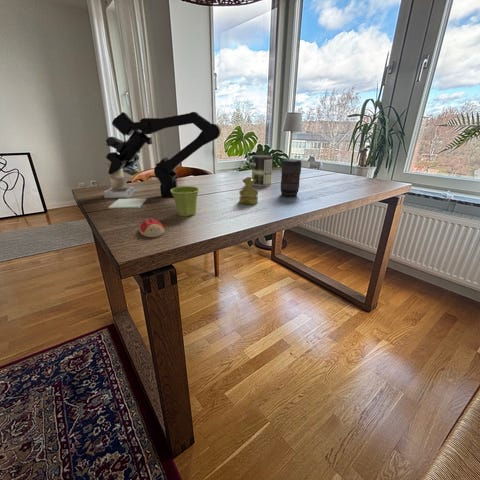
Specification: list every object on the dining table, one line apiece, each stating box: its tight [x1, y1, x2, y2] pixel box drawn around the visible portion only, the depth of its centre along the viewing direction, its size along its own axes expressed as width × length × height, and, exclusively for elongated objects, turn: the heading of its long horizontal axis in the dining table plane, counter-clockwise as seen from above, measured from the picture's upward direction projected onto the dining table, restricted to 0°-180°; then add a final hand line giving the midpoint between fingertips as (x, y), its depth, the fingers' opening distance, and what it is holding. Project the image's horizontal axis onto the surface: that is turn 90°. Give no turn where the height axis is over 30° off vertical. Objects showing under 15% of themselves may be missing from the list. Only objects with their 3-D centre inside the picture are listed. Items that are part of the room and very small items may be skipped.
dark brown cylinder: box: [280, 159, 303, 198], centre depth 111 cm, size 8×8×15 cm
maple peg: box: [106, 161, 127, 191], centre depth 109 cm, size 6×6×11 cm
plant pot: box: [170, 185, 200, 217], centre depth 89 cm, size 9×9×9 cm
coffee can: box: [251, 154, 274, 187], centre depth 131 cm, size 10×10×14 cm
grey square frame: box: [102, 186, 136, 199], centre depth 112 cm, size 10×10×2 cm
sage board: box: [107, 198, 148, 210], centre depth 101 cm, size 11×11×1 cm
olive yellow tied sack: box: [239, 176, 259, 206], centre depth 102 cm, size 7×7×10 cm
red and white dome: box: [139, 217, 165, 238], centre depth 75 cm, size 7×10×4 cm
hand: (112, 172), depth 109 cm, fingers closed on maple peg, 6 cm apart
